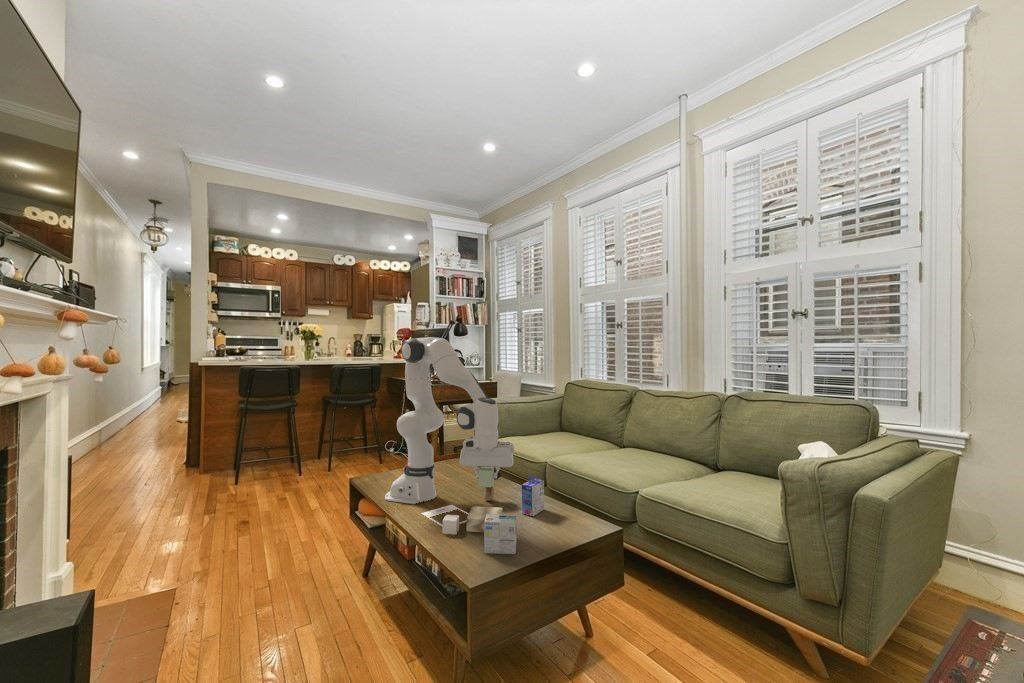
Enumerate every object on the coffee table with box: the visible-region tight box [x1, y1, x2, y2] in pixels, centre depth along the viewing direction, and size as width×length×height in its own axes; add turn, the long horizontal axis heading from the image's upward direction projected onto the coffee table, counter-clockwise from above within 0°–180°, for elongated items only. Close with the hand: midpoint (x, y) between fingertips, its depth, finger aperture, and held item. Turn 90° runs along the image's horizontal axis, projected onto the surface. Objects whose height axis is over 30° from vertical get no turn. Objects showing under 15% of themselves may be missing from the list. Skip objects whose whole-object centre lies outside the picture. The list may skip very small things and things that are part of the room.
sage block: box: [478, 466, 495, 488], centre depth 164 cm, size 5×5×6 cm
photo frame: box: [420, 504, 470, 528], centre depth 172 cm, size 15×1×18 cm
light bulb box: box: [483, 513, 518, 555], centre depth 145 cm, size 11×7×11 cm, turn 88°
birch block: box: [466, 505, 504, 533], centre depth 164 cm, size 12×12×5 cm
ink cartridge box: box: [521, 474, 545, 517], centre depth 178 cm, size 10×6×14 cm, turn 147°
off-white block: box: [442, 514, 460, 535], centre depth 159 cm, size 5×5×5 cm
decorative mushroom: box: [477, 467, 502, 502], centre depth 190 cm, size 11×11×15 cm
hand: (486, 477), depth 164 cm, fingers closed on sage block, 5 cm apart
